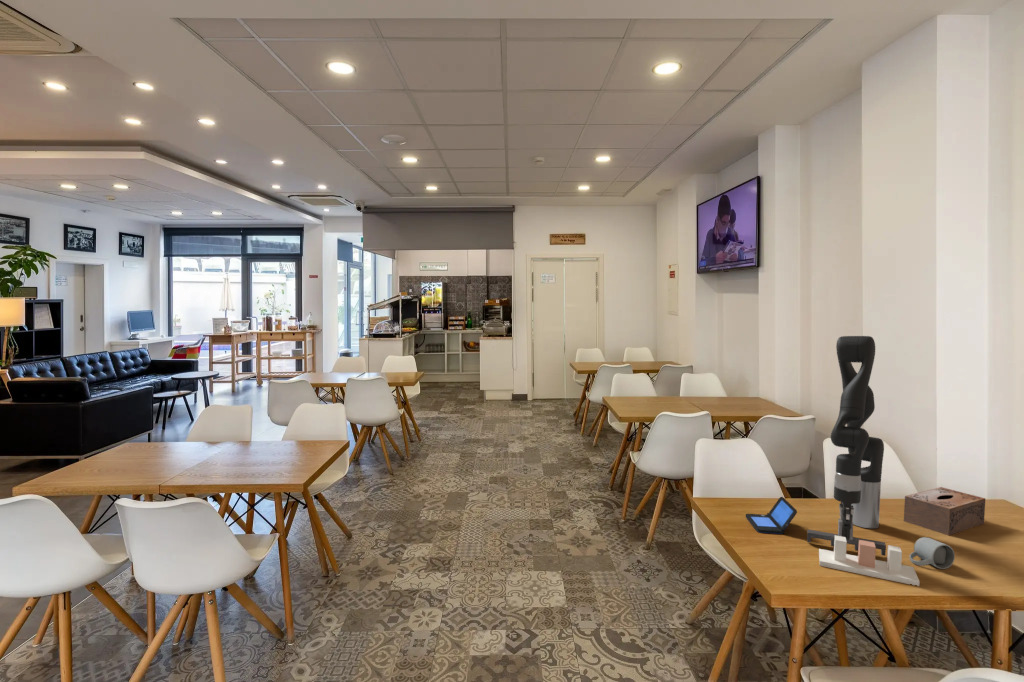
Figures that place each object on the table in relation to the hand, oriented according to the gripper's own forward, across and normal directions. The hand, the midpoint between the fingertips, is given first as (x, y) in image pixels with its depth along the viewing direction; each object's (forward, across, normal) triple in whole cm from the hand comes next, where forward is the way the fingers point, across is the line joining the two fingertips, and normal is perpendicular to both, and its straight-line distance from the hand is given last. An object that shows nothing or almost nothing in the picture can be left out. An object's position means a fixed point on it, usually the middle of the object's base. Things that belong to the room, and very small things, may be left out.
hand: (845, 536), depth 177 cm
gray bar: (+4, 0, 0) cm, 4 cm away
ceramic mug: (+5, -2, +23) cm, 24 cm away
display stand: (+4, +12, +5) cm, 14 cm away
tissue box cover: (+5, -48, +35) cm, 59 cm away
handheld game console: (+5, -10, -23) cm, 26 cm away
